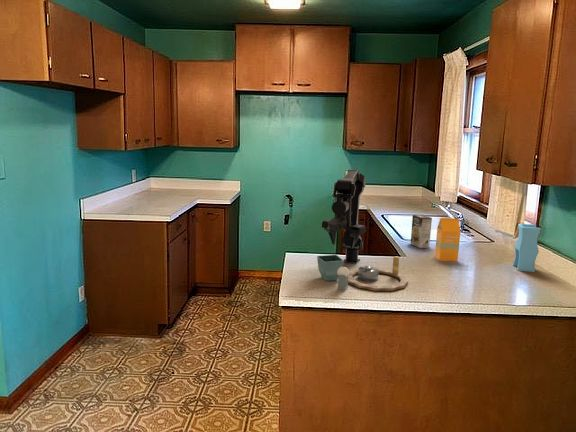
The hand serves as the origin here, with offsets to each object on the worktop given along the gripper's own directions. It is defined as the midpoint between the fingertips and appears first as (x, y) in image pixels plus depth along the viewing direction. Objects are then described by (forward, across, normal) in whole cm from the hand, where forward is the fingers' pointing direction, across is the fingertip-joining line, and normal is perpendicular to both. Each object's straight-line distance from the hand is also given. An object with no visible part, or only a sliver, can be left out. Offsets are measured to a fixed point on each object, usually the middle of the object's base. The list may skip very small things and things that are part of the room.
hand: (342, 246), depth 197 cm
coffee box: (+15, +3, +71) cm, 73 cm away
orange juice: (+14, +23, +56) cm, 63 cm away
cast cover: (+13, +10, +5) cm, 17 cm away
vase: (+14, +56, +66) cm, 87 cm away
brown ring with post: (+13, +15, +4) cm, 20 cm away
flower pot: (+13, -1, -7) cm, 15 cm away
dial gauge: (+12, +10, -14) cm, 21 cm away
